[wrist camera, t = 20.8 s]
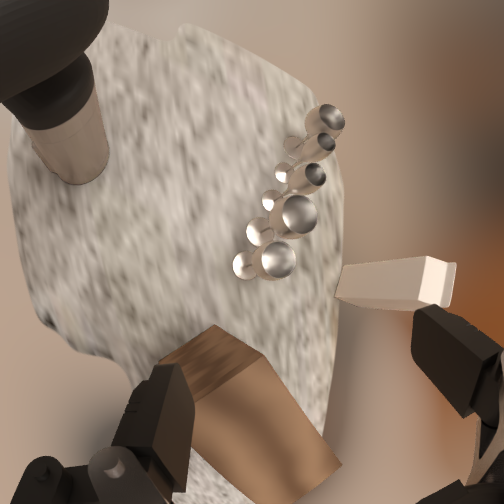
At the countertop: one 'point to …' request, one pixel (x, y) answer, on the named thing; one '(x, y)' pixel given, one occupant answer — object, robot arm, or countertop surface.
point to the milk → (397, 283)
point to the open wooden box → (250, 421)
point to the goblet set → (291, 199)
